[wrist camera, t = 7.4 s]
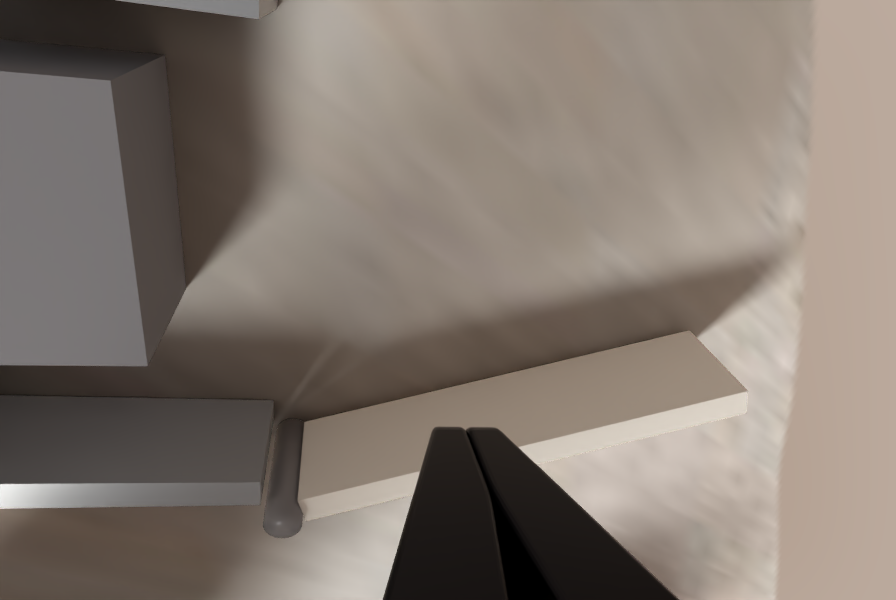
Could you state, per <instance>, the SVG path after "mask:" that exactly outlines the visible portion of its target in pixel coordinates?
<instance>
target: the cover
mask: <svg viewBox="0 0 896 600" xmlns="http://www.w3.org/2000/svg"><path fill="white" fill-rule="evenodd" d="M747 399H748V390H747V389H746V388H745V387H744V386H743V385H742V384H741V383H740V382H739V381H738V380H737V379H736V378H735V377H734V376H733V375H732V374H731V373H730V372H729V371H728V370H727V369H726V368H725V367H724V366H723V365H722V364H721V362H720V361H719V360H718V359H717V358H716V357H715V356H714V355H713V354H712V353H711V352H710V351H709V350H708V349H707V348H706V347H705V346H704V345H703V344H702V343H701V342H700V341H699V340H698V339H697V338H696V337H695V336H694V334H693V333H692V332H691V331H690V330H689V331H684V332H680V333H676V334H672V335H668V336H663V337H659V338H655V339H651V340H647V341H642V342H638V343H634V344H630V345H626V346H621V347H617V348H613V349H609V350H605V351H600V352H596V353H592V354H588V355H584V356H579V357H575V358H571V359H567V360H563V361H558V362H554V363H550V364H546V365H542V366H537V367H533V368H529V369H525V370H521V371H516V372H512V373H508V374H504V375H500V376H495V377H491V378H487V379H483V380H479V381H474V382H470V383H466V384H462V385H458V386H453V387H449V388H445V389H441V390H437V391H432V392H428V393H424V394H420V395H416V396H411V397H407V398H403V399H399V400H395V401H390V402H386V403H382V404H378V405H374V406H369V407H365V408H361V409H357V410H353V411H348V412H344V413H340V414H336V415H332V416H327V417H323V418H319V419H315V420H311V421H306V422H303V421H301V420H299V419H287V420H285V421H283V422H281V423H280V424H279V425H278V427H277V431H276V438H275V445H274V452H273V459H272V466H271V473H270V480H269V487H268V494H267V501H266V508H265V514H264V521H263V528H264V530H265V531H266V533H268V534H269V535H271V536H273V537H277V538H287V537H291V536H293V535H295V534H296V533H298V532H299V531H300V529H301V527H302V518H303V515H304V517H305V520H306V521H310V520H314V519H318V518H322V517H327V516H331V515H335V514H339V513H343V512H347V511H351V510H355V509H359V508H363V507H367V506H371V505H375V504H379V503H384V502H388V501H392V500H396V499H400V498H404V497H408V496H412V495H413V494H414V491H415V487H416V484H417V480H418V477H419V473H420V470H421V466H422V463H423V460H424V456H425V453H426V449H427V446H428V442H429V439H430V436H431V432H432V430H433V429H434V428H435V427H438V426H440V427H462V428H463V429H465V430H466V429H467V428H469V427H494V428H497V429H499V430H500V431H502V432H503V433H504V434H505V435H506V436H507V437H508V438H509V439H510V440H511V441H512V442H513V443H514V444H515V445H516V446H517V447H519V448H520V449H521V450H522V451H523V452H524V453H525V454H526V455H527V456H528V457H529V458H530V459H531V460H532V461H533V462H534V463H535V464H536V465H538V464H542V463H546V462H551V461H555V460H559V459H563V458H567V457H571V456H575V455H579V454H583V453H587V452H591V451H595V450H599V449H604V448H608V447H612V446H616V445H620V444H624V443H628V442H632V441H636V440H640V439H644V438H648V437H652V436H656V435H661V434H665V433H669V432H673V431H677V430H681V429H685V428H689V427H693V426H697V425H701V424H705V423H709V422H713V421H718V420H722V419H726V418H730V417H734V416H738V415H742V414H746V412H747Z"/></svg>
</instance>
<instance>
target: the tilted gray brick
mask: <svg viewBox="0 0 896 600" xmlns="http://www.w3.org/2000/svg"><path fill="white" fill-rule="evenodd" d="M185 290H186V278H185V267H184V257H183V246H182V235H181V224H180V213H179V202H178V191H177V180H176V169H175V158H174V147H173V136H172V125H171V114H170V103H169V92H168V81H167V70H166V59H165V55H161V54H151V53H140V52H129V51H119V50H108V49H98V48H87V47H77V46H66V45H56V44H45V43H35V42H24V41H13V40H3V39H0V365H42V366H148V365H149V363H150V361H151V359H152V357H153V355H154V353H155V350H156V348H157V346H158V344H159V342H160V340H161V338H162V336H163V334H164V332H165V330H166V328H167V326H168V324H169V322H170V320H171V318H172V316H173V314H174V312H175V310H176V308H177V306H178V304H179V302H180V300H181V298H182V296H183V294H184V292H185Z"/></svg>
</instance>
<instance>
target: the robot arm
mask: <svg viewBox="0 0 896 600" xmlns="http://www.w3.org/2000/svg"><path fill="white" fill-rule="evenodd" d="M383 600H679V599H678V598H677V597H676V596H675V595H674V594H673V593H672V592H671V591H670V590H668V589H667V588H666V587H665V586H664V585H663V584H662V583H661V582H660V581H659V580H658V579H657V578H656V577H655V576H654V575H653V574H652V573H651V572H649V571H648V570H647V569H646V568H645V567H644V566H643V565H642V564H641V563H640V562H639V561H638V560H637V559H636V558H635V557H634V556H633V555H631V554H630V553H629V552H628V551H627V550H626V549H625V548H624V547H623V546H622V545H621V544H620V543H619V542H618V541H617V540H616V539H615V538H614V537H612V536H611V535H610V534H609V533H608V532H607V531H606V530H605V529H604V528H603V527H602V526H601V525H600V524H599V523H598V522H597V521H596V520H595V519H593V518H592V517H591V516H590V515H589V514H588V513H587V512H586V511H585V510H584V509H583V508H582V507H581V506H580V505H579V504H578V503H577V502H576V501H574V500H573V499H572V498H571V497H570V496H569V495H568V494H567V493H566V492H565V491H564V490H563V489H562V488H561V487H560V486H559V485H558V484H557V483H555V482H554V481H553V480H552V479H551V478H550V477H549V476H548V475H547V474H546V473H545V472H544V471H543V470H542V469H541V468H540V467H539V466H538V465H536V464H535V463H534V462H533V461H532V460H531V459H530V458H529V457H528V456H527V455H526V454H525V453H524V452H523V451H522V450H521V449H520V448H519V447H517V446H516V445H515V444H514V443H513V442H512V441H511V440H510V439H509V438H508V437H507V436H506V435H505V434H504V433H503V432H502V431H500V430H499V429H497V428H494V427H469V428H467V429H466V430H465V429H463V428H462V427H440V426H438V427H435V428H434V429H433V430H432V432H431V436H430V439H429V442H428V446H427V449H426V453H425V456H424V460H423V463H422V466H421V470H420V473H419V477H418V480H417V484H416V487H415V491H414V494H413V497H412V501H411V504H410V508H409V511H408V515H407V518H406V521H405V525H404V528H403V532H402V535H401V539H400V542H399V545H398V549H397V552H396V556H395V559H394V563H393V566H392V570H391V573H390V576H389V580H388V583H387V587H386V590H385V594H384V597H383Z"/></svg>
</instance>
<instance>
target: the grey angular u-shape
mask: <svg viewBox="0 0 896 600" xmlns="http://www.w3.org/2000/svg"><path fill="white" fill-rule="evenodd" d="M117 1H125V2H133V3H140V4H148V5H155V6H163V7H170V8H178V9H185V10H193V11H200V12H208V13H215V14H223V15H230V16H238V17H245V18H253V19H260V18H262V17H264V16H266V15H267V14H269V13H271V12H273V11H274V10H276V9H277V0H117ZM273 417H274V400H232V399H178V398H124V397H70V396H15V395H0V509H9V508H85V507H161V506H237V505H261V498H262V492H263V485H264V479H265V472H266V466H267V459H268V453H269V447H270V440H271V434H272V427H273Z"/></svg>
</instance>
